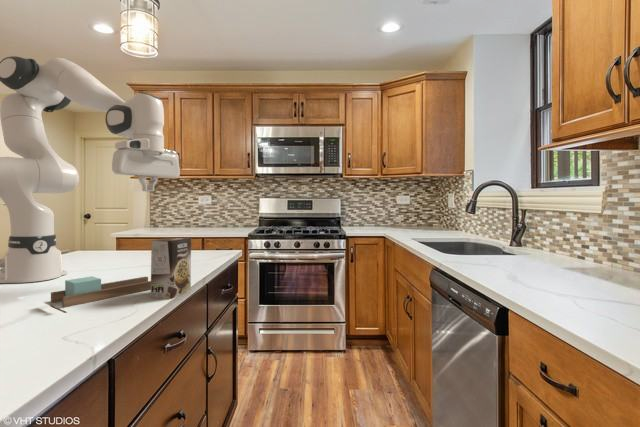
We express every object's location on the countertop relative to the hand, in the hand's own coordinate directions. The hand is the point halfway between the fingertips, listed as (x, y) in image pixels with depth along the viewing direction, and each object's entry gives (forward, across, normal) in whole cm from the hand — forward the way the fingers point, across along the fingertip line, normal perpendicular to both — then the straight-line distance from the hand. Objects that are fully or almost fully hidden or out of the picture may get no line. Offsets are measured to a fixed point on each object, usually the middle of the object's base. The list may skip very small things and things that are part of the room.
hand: (148, 191), depth 110 cm
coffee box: (+29, +5, +20) cm, 36 cm away
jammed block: (+28, +21, +8) cm, 36 cm away
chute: (+29, +15, +8) cm, 34 cm away
